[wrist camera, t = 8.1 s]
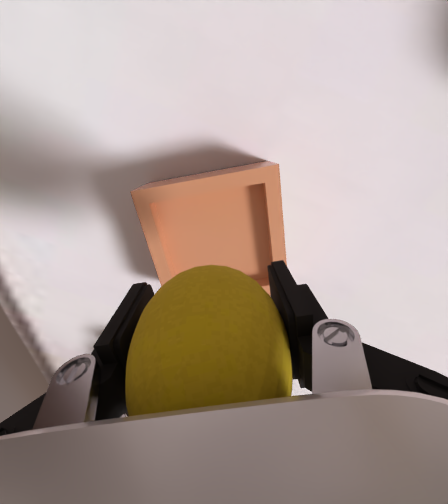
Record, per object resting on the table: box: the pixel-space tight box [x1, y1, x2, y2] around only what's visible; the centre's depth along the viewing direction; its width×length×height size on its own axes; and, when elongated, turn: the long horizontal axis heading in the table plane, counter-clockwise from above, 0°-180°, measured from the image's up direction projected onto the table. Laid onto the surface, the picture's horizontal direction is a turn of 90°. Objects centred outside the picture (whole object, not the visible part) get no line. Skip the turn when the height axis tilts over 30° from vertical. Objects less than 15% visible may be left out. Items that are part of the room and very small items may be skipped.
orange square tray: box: [130, 161, 287, 296], centre depth 19 cm, size 10×10×4 cm
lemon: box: [125, 265, 292, 416], centre depth 9 cm, size 6×6×8 cm
